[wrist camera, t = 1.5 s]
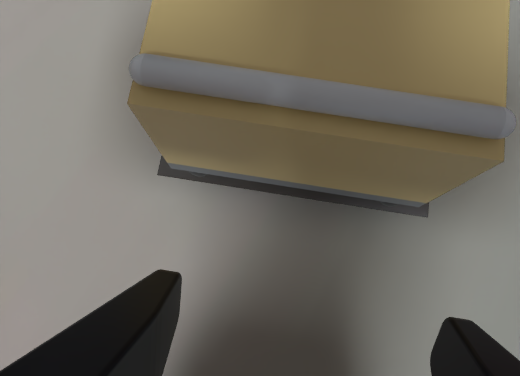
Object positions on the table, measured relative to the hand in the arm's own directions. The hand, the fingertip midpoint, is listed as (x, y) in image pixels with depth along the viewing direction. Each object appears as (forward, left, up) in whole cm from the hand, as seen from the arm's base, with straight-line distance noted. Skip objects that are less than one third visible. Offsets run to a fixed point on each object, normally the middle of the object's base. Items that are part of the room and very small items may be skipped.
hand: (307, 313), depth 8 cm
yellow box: (+11, -5, -13) cm, 17 cm away
